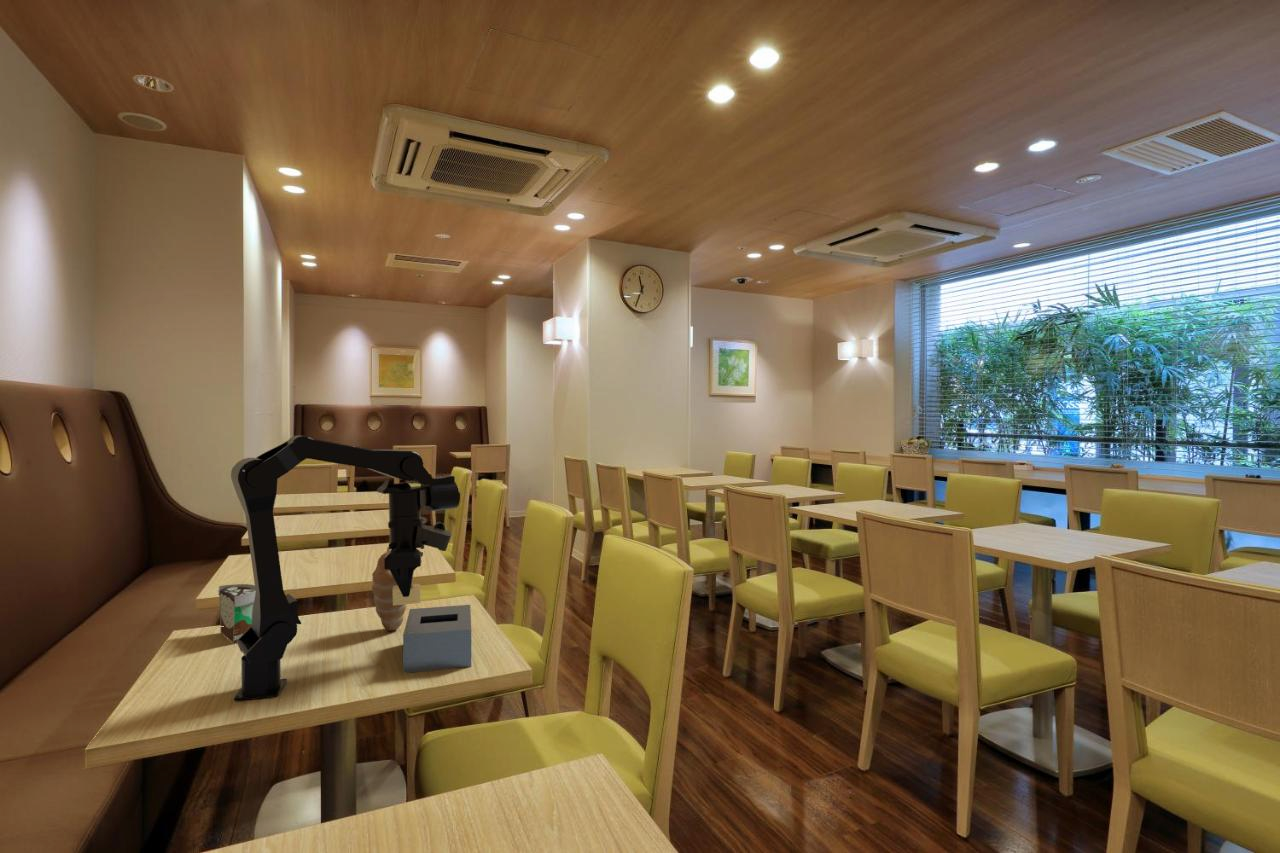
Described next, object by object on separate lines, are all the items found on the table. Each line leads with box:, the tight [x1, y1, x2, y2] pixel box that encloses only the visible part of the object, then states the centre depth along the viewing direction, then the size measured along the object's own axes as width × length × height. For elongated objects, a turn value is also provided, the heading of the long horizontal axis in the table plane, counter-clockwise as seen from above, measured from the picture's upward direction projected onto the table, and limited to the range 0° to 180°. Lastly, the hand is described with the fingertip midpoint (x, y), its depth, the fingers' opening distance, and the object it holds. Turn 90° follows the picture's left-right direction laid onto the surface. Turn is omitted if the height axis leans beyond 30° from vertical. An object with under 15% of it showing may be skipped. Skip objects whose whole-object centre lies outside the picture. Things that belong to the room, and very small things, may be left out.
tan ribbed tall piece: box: [371, 545, 407, 632], centre depth 139 cm, size 9×8×18 cm
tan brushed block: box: [393, 583, 421, 606], centre depth 125 cm, size 3×5×3 cm, turn 109°
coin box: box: [402, 604, 472, 674], centre depth 126 cm, size 16×12×7 cm
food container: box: [218, 583, 256, 645], centre depth 136 cm, size 12×6×10 cm, turn 47°
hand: (406, 594), depth 125 cm, fingers closed on tan brushed block, 3 cm apart
